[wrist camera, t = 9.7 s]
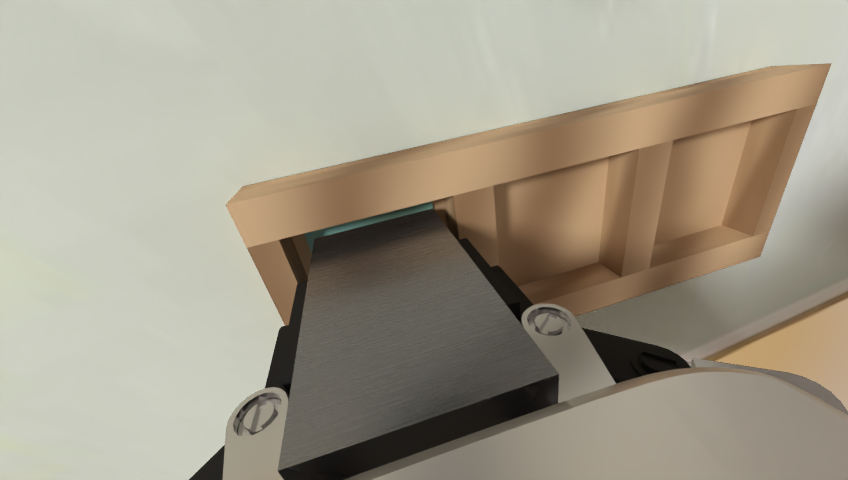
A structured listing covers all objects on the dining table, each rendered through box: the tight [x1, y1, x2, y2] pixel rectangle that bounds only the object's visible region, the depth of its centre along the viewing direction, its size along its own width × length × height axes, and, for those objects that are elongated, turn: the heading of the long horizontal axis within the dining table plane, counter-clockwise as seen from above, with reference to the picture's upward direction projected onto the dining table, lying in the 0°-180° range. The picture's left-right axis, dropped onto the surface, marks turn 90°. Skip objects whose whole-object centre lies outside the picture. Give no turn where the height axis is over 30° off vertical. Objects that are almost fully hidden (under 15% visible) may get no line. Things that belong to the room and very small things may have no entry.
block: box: [278, 209, 559, 480], centre depth 9 cm, size 4×4×8 cm
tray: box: [226, 64, 831, 326], centre depth 14 cm, size 23×9×2 cm, turn 99°
